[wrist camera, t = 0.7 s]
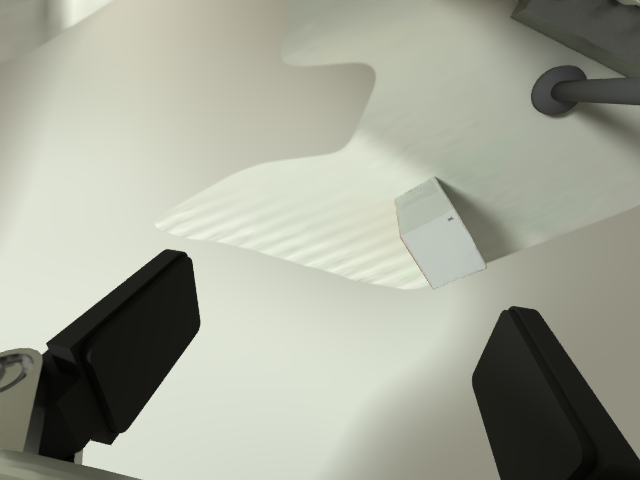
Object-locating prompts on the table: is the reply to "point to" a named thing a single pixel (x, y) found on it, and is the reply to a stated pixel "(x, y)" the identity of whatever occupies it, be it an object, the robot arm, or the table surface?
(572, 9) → the breaker panel
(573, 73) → the cable upright
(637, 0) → the breaker paddles
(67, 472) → the robot arm
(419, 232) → the small box
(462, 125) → the table surface
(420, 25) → the table surface
